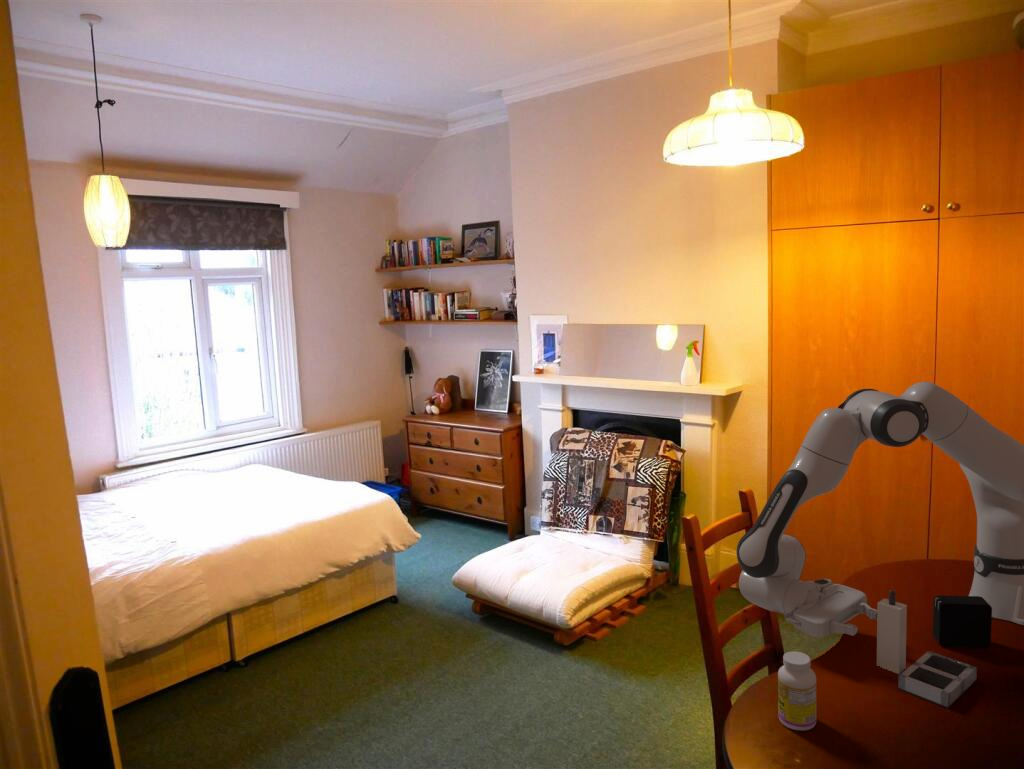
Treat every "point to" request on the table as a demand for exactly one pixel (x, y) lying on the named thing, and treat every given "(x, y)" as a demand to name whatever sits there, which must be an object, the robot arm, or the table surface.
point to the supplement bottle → (797, 692)
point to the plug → (891, 634)
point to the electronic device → (962, 621)
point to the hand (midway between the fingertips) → (867, 623)
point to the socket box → (937, 679)
